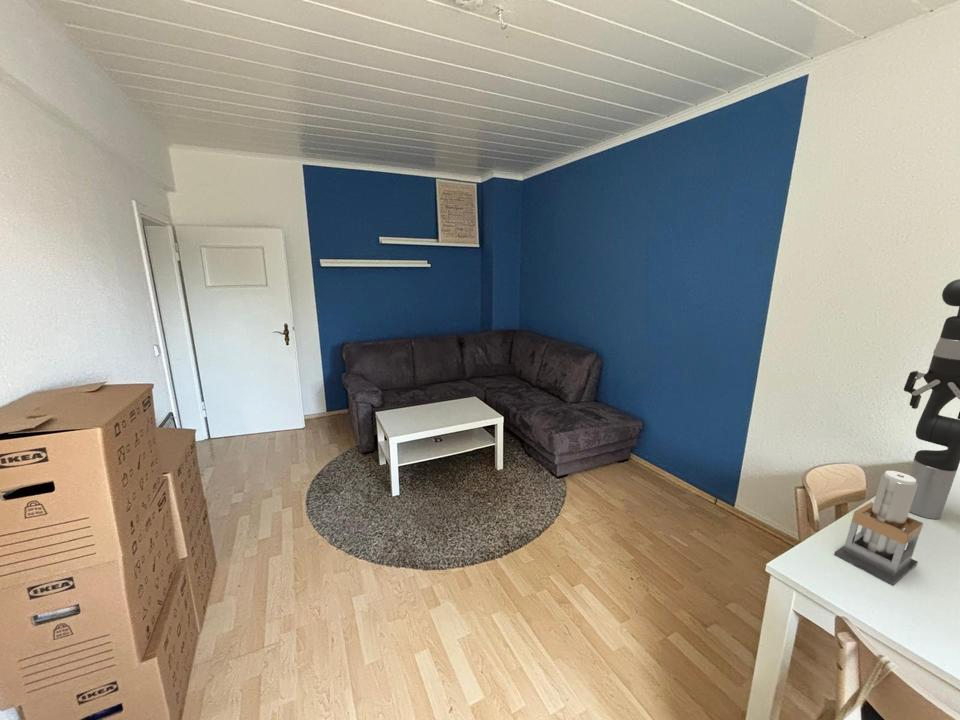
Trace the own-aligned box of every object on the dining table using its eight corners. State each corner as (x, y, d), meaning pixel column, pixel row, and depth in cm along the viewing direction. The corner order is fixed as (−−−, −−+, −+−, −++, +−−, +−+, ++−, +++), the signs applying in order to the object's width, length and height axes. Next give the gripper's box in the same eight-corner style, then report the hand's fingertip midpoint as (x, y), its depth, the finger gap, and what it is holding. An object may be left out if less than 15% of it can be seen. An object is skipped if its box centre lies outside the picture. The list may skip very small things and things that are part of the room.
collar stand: (859, 537, 116) (871, 497, 112) (916, 564, 105) (931, 521, 102) (834, 554, 109) (845, 512, 105) (892, 585, 98) (908, 540, 95)
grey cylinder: (899, 566, 103) (927, 483, 97) (871, 562, 104) (896, 480, 98) (880, 549, 109) (905, 470, 103) (853, 546, 111) (876, 467, 105)
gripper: (1002, 360, 98) (981, 420, 102) (921, 349, 110) (905, 403, 114) (993, 363, 94) (972, 425, 98) (911, 351, 107) (895, 406, 111)
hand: (936, 413), depth 106 cm, fingers open, 8 cm apart
